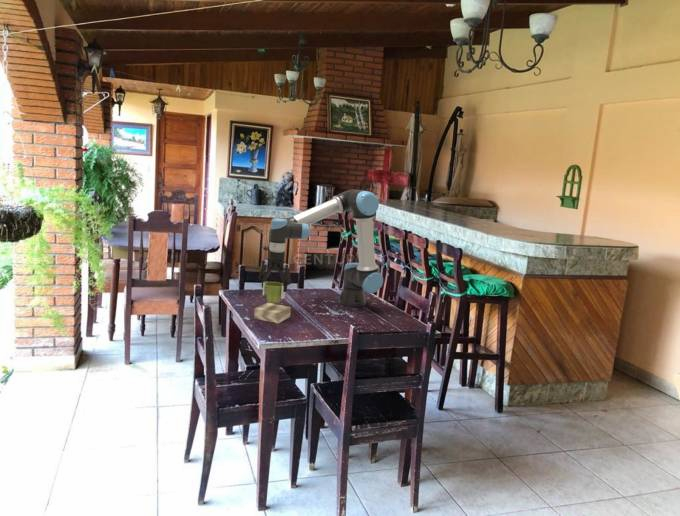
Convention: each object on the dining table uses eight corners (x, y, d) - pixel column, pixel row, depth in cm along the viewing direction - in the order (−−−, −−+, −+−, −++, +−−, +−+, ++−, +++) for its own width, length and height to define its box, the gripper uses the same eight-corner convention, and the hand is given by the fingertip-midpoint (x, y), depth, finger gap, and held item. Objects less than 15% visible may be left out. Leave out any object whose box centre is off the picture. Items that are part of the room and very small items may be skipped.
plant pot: (279, 305, 251) (280, 287, 249) (260, 302, 252) (261, 284, 251) (285, 300, 260) (286, 283, 258) (267, 298, 261) (268, 281, 260)
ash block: (290, 316, 261) (290, 307, 260) (277, 323, 249) (278, 313, 248) (267, 312, 266) (267, 302, 265) (253, 318, 254) (254, 308, 253)
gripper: (252, 248, 252) (249, 294, 256) (294, 255, 244) (290, 302, 248) (260, 246, 259) (257, 291, 263) (301, 253, 251) (297, 298, 255)
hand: (273, 296), depth 256 cm, fingers closed on plant pot, 9 cm apart
